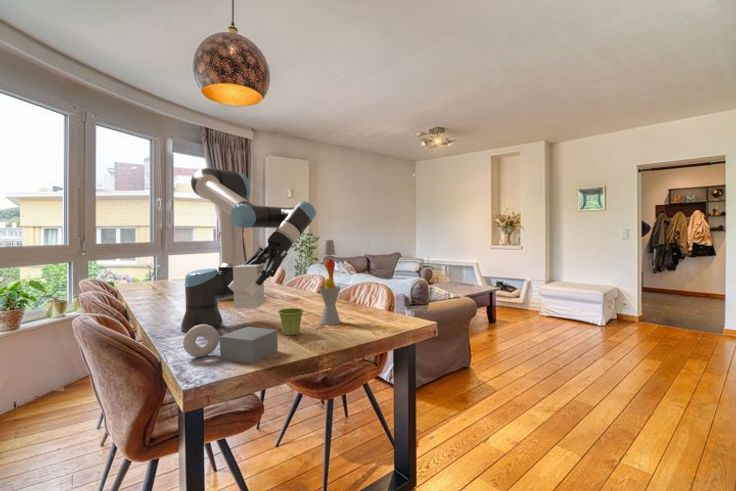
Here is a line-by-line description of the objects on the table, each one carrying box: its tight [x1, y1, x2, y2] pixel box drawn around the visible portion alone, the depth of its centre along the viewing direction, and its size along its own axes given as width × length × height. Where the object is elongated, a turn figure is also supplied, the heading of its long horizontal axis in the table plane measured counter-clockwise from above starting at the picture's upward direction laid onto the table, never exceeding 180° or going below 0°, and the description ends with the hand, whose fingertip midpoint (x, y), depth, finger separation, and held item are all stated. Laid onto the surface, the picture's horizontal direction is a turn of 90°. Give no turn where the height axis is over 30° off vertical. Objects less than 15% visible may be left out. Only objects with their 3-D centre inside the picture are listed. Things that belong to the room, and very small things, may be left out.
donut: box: [182, 324, 220, 358], centre depth 108 cm, size 10×4×10 cm, turn 124°
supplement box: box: [233, 263, 265, 309], centre depth 109 cm, size 7×7×13 cm
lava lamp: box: [319, 239, 341, 326], centre depth 149 cm, size 9×9×35 cm
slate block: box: [219, 326, 279, 365], centre depth 109 cm, size 12×12×7 cm
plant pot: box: [278, 307, 304, 336], centre depth 133 cm, size 9×9×9 cm
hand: (239, 291), depth 107 cm, fingers closed on supplement box, 10 cm apart
